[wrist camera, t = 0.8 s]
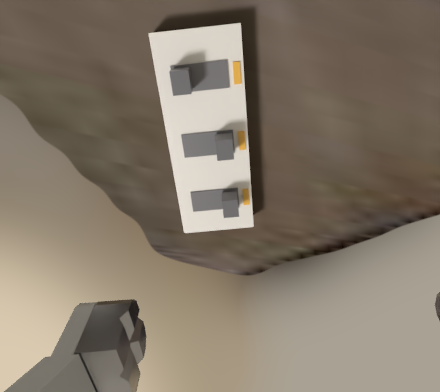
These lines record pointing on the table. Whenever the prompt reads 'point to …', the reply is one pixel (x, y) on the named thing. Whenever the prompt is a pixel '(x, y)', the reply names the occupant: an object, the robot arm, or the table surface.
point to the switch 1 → (181, 81)
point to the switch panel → (205, 122)
